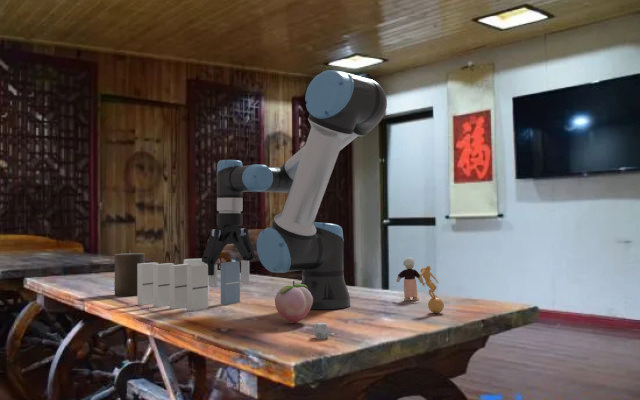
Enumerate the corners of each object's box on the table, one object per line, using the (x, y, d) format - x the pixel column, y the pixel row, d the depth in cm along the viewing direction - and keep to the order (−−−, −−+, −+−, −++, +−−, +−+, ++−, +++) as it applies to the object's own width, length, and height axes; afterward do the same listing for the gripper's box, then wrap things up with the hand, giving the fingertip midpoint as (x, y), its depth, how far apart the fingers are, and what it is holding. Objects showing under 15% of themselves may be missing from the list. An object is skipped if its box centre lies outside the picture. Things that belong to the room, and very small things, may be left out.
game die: (312, 336, 119) (311, 322, 119) (329, 336, 119) (329, 321, 119) (312, 340, 116) (312, 325, 116) (331, 339, 116) (330, 324, 116)
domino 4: (208, 308, 160) (208, 264, 160) (192, 311, 155) (191, 266, 155) (203, 307, 161) (202, 264, 161) (187, 310, 156) (186, 266, 156)
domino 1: (158, 302, 172) (158, 262, 172) (141, 305, 167) (141, 264, 167) (153, 302, 173) (153, 262, 173) (137, 304, 168) (137, 263, 168)
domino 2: (174, 304, 168) (174, 263, 168) (157, 307, 163) (157, 264, 163) (169, 303, 169) (169, 263, 169) (153, 306, 164) (153, 264, 164)
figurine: (436, 316, 141) (435, 267, 142) (414, 314, 145) (413, 266, 145) (450, 311, 148) (449, 265, 148) (428, 309, 152) (427, 264, 152)
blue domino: (240, 302, 171) (239, 261, 171) (225, 304, 166) (225, 263, 166) (235, 301, 172) (234, 261, 172) (220, 304, 167) (220, 262, 167)
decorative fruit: (289, 319, 140) (288, 278, 141) (318, 321, 136) (317, 279, 137) (267, 325, 132) (266, 281, 133) (296, 328, 128) (296, 283, 128)
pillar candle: (139, 296, 187) (139, 250, 188) (109, 296, 187) (110, 250, 188) (148, 292, 197) (148, 249, 197) (120, 293, 197) (120, 249, 197)
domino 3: (190, 306, 164) (190, 264, 164) (174, 309, 159) (174, 265, 159) (185, 305, 165) (185, 263, 165) (169, 308, 160) (169, 265, 160)
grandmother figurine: (421, 298, 172) (420, 256, 172) (423, 300, 168) (423, 257, 168) (395, 299, 172) (394, 257, 172) (397, 301, 168) (397, 257, 168)
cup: (208, 298, 179) (208, 260, 179) (180, 299, 179) (179, 260, 179) (214, 294, 188) (214, 258, 188) (187, 295, 188) (187, 258, 188)
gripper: (248, 212, 182) (248, 279, 181) (189, 212, 161) (188, 288, 161) (266, 212, 178) (266, 281, 177) (208, 212, 157) (207, 290, 157)
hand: (229, 284), depth 169 cm, fingers open, 13 cm apart
